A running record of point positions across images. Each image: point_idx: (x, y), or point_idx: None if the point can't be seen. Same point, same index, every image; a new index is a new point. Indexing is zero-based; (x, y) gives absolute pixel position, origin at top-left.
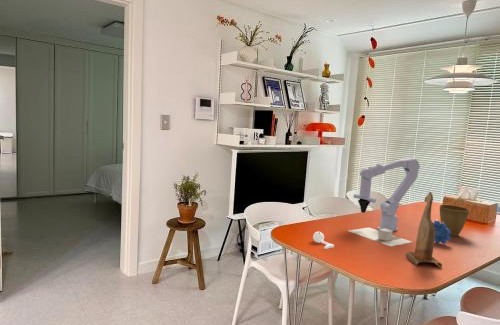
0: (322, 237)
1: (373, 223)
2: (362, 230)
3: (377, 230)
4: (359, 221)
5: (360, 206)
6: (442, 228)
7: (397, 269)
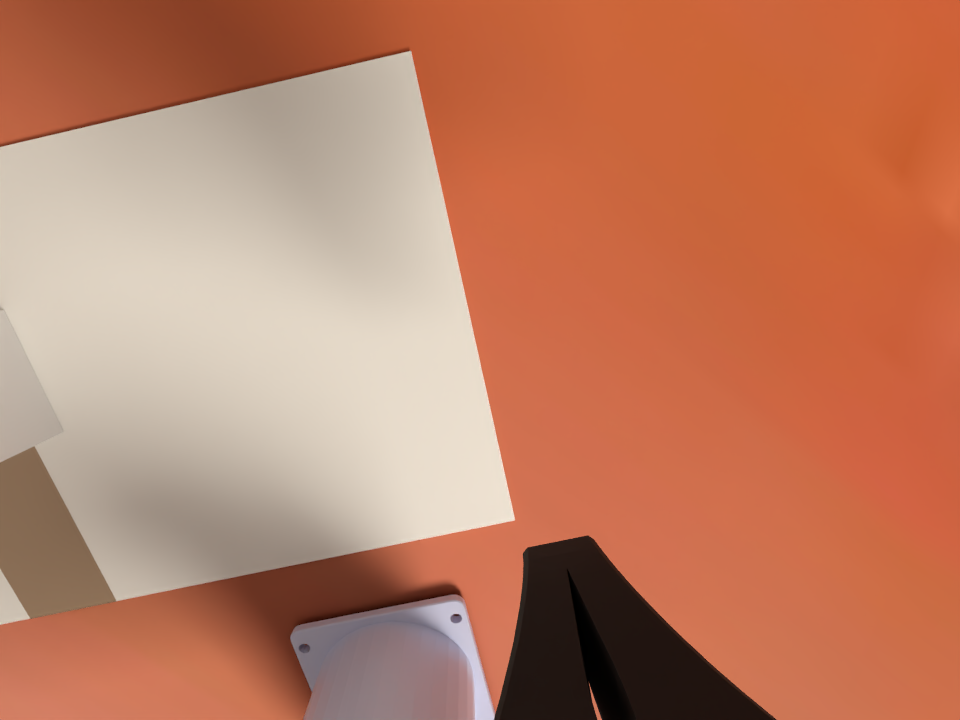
0: None
1: None
2: (391, 331)
3: (368, 542)
4: (794, 577)
5: (688, 669)
6: None
7: None
